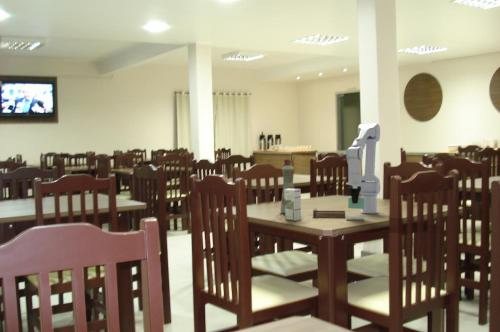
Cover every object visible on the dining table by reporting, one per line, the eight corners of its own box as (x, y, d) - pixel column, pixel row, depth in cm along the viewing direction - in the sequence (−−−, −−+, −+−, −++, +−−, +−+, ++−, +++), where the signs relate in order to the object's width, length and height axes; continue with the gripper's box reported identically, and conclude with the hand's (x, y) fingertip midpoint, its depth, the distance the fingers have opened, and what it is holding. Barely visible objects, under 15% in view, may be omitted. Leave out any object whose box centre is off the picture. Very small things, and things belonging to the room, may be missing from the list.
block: (348, 207, 251) (348, 196, 251) (363, 207, 250) (363, 196, 249) (348, 208, 247) (348, 197, 247) (363, 208, 246) (364, 197, 245)
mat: (346, 217, 253) (346, 216, 253) (363, 217, 252) (363, 216, 252) (346, 220, 245) (346, 219, 245) (364, 220, 244) (364, 219, 244)
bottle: (284, 211, 279) (283, 157, 278) (300, 212, 275) (299, 157, 274) (277, 213, 272) (276, 158, 270) (294, 214, 268) (293, 158, 266)
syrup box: (301, 219, 251) (301, 188, 251) (294, 221, 247) (293, 189, 246) (291, 218, 255) (291, 187, 254) (284, 219, 251) (283, 188, 250)
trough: (314, 214, 265) (314, 207, 264) (345, 215, 262) (345, 207, 262) (313, 217, 256) (313, 210, 256) (345, 217, 254) (345, 210, 254)
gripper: (345, 172, 255) (346, 200, 256) (345, 174, 241) (346, 204, 242) (360, 172, 254) (361, 200, 255) (362, 174, 240) (362, 204, 241)
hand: (354, 202), depth 248 cm, fingers closed on block, 4 cm apart
